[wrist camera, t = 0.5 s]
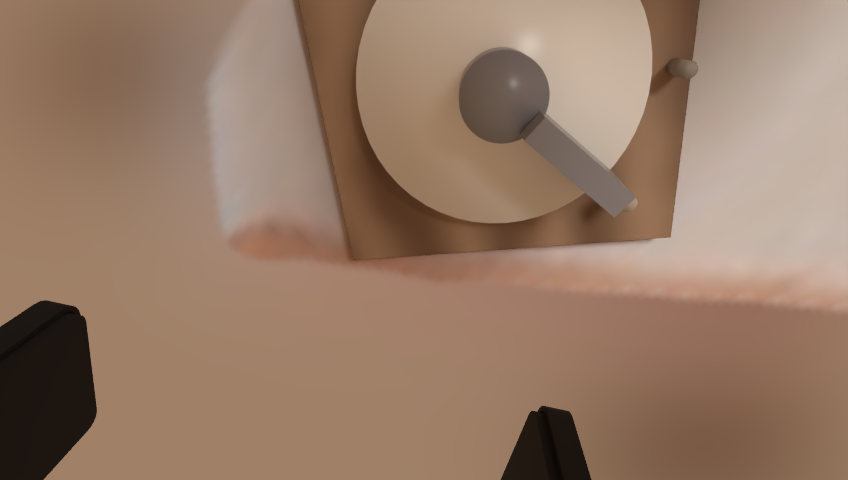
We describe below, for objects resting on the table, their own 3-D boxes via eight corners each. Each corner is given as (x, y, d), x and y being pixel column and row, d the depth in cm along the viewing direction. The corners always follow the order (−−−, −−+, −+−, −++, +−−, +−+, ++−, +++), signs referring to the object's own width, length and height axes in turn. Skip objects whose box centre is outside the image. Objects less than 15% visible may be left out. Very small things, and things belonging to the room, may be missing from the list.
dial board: (708, -173, 25) (774, -223, 20) (662, 228, 35) (698, 266, 30) (284, -102, 28) (243, -128, 23) (356, 251, 38) (340, 289, 33)
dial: (309, 108, 31) (274, 130, 26) (485, -162, 24) (493, -217, 19) (506, 259, 35) (514, 307, 30) (706, 63, 28) (769, 76, 23)
